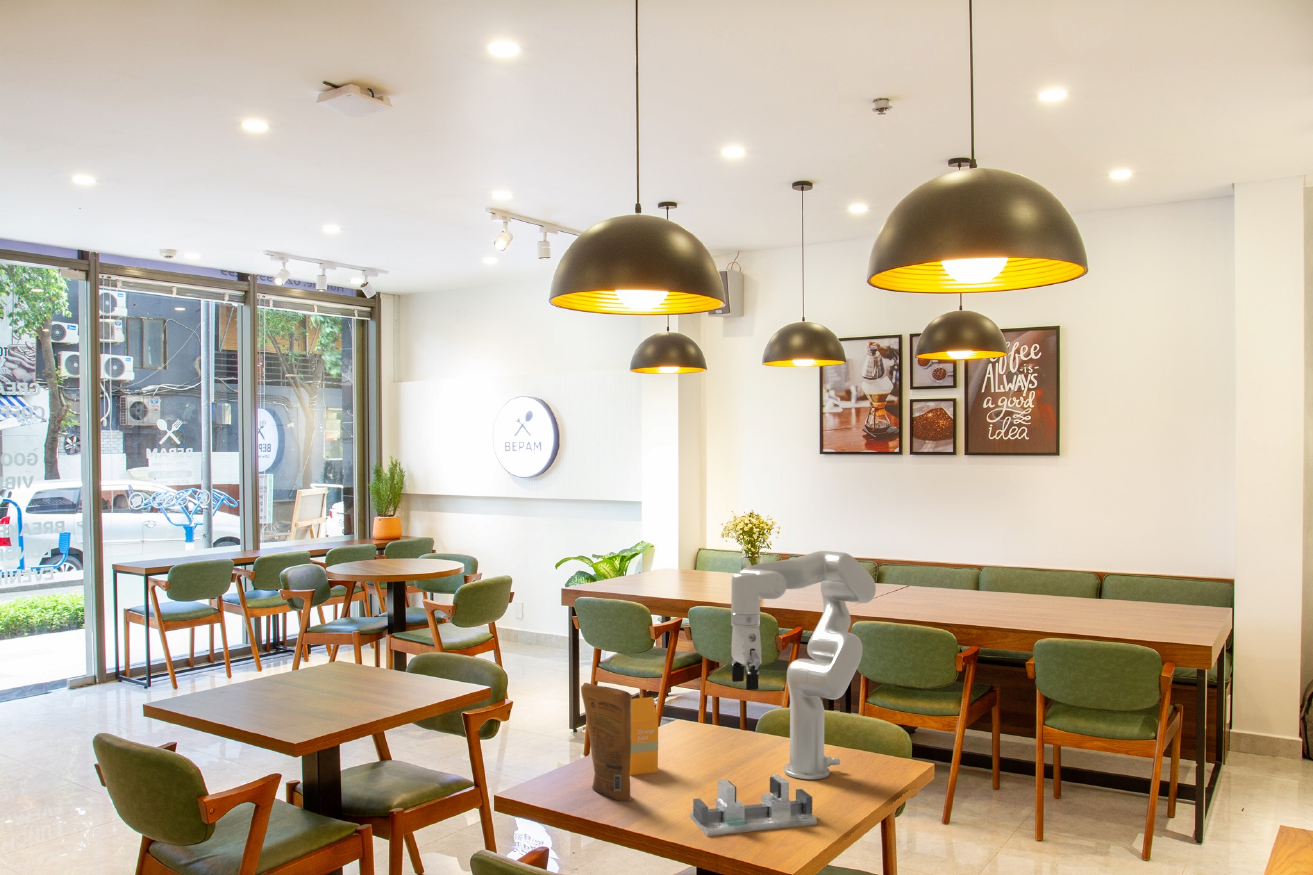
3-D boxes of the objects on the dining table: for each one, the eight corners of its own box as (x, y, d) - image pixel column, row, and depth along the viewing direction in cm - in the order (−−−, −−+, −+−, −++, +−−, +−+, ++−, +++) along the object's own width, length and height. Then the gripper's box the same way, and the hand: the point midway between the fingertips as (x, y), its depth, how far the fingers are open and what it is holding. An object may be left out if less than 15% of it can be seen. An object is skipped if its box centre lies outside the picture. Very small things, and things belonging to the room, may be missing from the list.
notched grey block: (735, 811, 229) (735, 778, 229) (744, 820, 223) (744, 786, 223) (715, 813, 227) (716, 780, 227) (724, 822, 221) (725, 788, 222)
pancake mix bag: (620, 806, 235) (621, 693, 236) (577, 786, 250) (578, 680, 251) (641, 800, 240) (642, 690, 241) (597, 781, 254) (599, 677, 255)
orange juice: (618, 767, 267) (619, 696, 268) (647, 763, 270) (648, 693, 271) (628, 775, 260) (630, 702, 260) (658, 771, 263) (659, 699, 264)
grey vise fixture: (796, 806, 236) (796, 768, 237) (817, 824, 225) (818, 784, 225) (688, 817, 228) (689, 778, 229) (705, 836, 217) (706, 794, 217)
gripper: (772, 624, 240) (771, 692, 239) (746, 614, 256) (745, 677, 256) (744, 625, 238) (744, 693, 237) (720, 615, 254) (719, 679, 254)
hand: (744, 685), depth 246 cm, fingers open, 9 cm apart
